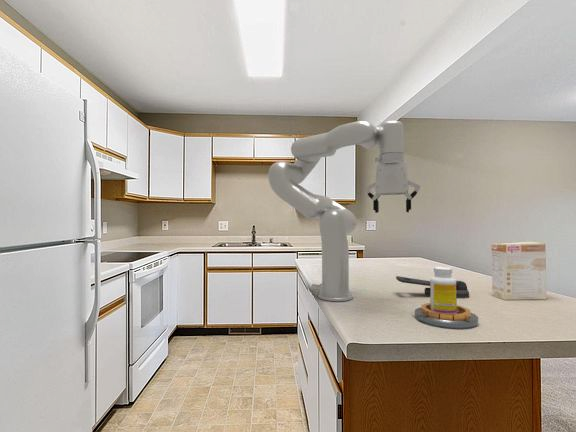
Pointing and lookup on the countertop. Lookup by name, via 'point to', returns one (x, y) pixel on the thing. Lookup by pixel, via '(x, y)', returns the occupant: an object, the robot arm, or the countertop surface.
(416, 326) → the countertop surface
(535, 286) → the coffeecake box
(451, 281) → the supplement bottle
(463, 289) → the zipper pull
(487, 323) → the countertop surface
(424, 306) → the rosette plate
